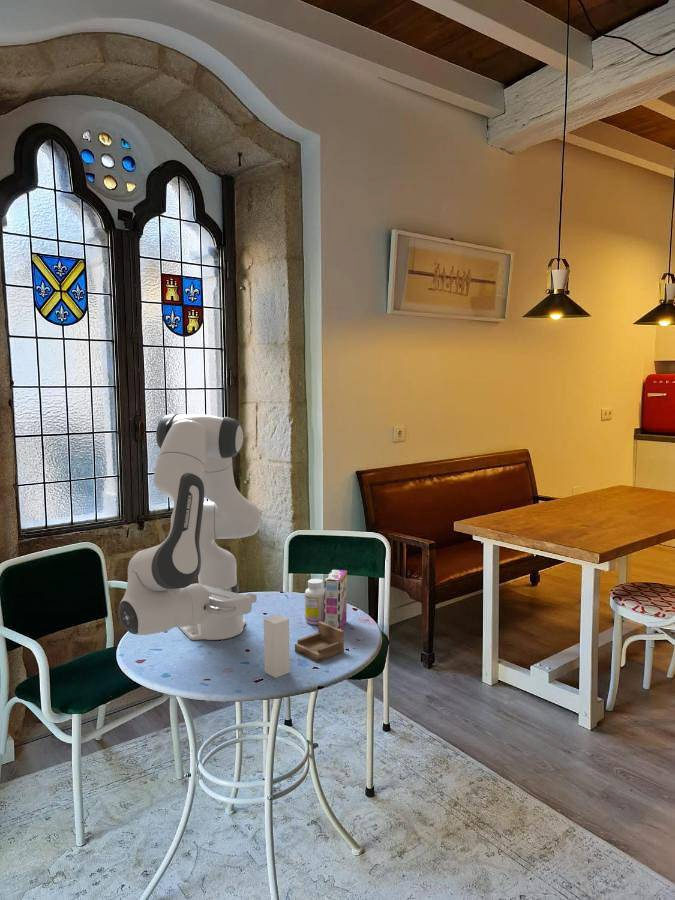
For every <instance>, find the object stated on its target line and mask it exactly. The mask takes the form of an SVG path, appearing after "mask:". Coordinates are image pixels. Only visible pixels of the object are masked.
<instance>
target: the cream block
mask: <svg viewBox="0 0 675 900" xmlns="http://www.w3.org/2000/svg"><path fill="white" fill-rule="evenodd" d="M263 643H264V644H263V645H264V646H263V647H264V648H263V649H264V652H263V653H264V673H266V674H267V675H269V676H271V677H273V678H274V679H275V678H276V679H277V678H279V677H282V676H284V675H286V674H289V673H290V672H291V671H290V669H291V667H290V618H288V617H285V616H283V615H281V614H275V615H271V616H269V617H266V618H263Z"/></svg>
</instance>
